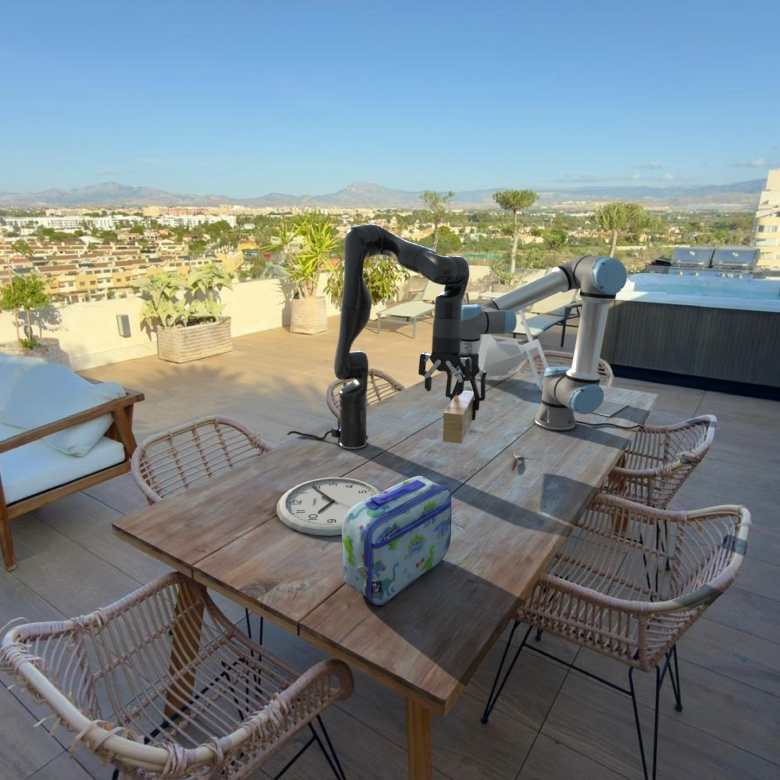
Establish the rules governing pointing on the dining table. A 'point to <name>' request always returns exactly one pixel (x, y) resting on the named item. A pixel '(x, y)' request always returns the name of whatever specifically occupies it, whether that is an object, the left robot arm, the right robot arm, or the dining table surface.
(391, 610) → the dining table surface
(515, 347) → the white plastic object
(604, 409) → the invitation card
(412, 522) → the lunch box
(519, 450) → the fork
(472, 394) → the bar
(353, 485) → the wall clock
